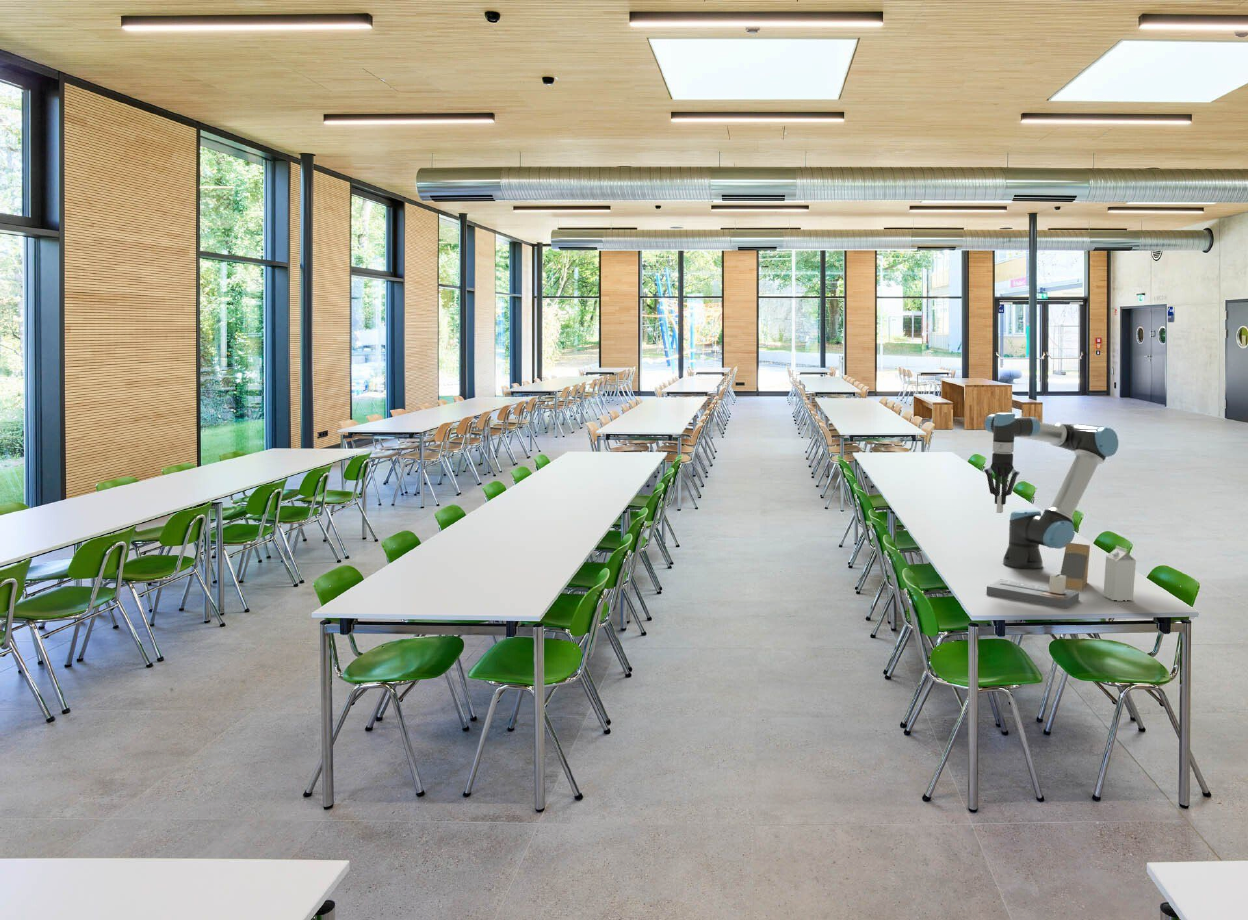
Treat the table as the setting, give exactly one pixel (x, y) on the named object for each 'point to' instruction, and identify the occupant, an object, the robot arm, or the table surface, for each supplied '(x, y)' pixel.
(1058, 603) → the fader console
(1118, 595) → the milk carton
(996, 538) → the table surface
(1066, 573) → the sandwich container
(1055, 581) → the fader knob
